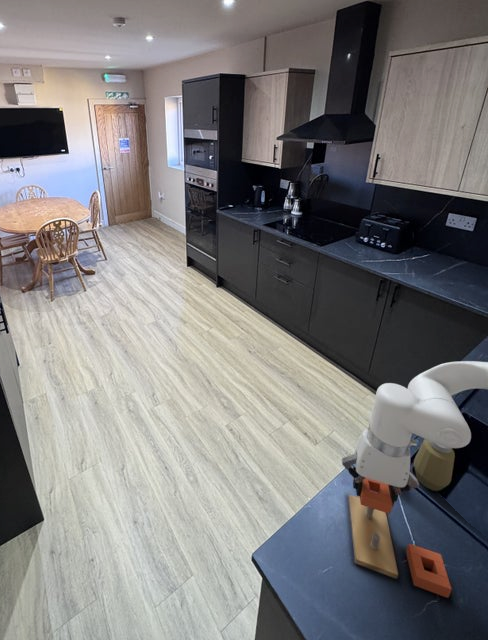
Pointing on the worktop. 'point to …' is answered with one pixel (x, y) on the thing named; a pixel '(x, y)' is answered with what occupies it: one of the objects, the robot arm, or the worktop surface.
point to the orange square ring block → (425, 579)
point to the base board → (371, 538)
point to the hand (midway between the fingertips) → (373, 494)
